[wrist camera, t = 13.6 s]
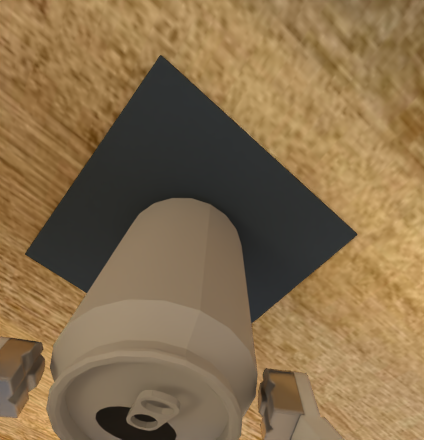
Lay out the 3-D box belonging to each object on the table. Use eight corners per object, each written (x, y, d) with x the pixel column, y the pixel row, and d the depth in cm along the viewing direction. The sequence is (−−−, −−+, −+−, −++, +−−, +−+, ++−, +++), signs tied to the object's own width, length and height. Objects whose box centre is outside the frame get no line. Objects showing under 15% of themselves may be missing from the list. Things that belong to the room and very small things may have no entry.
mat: (26, 252, 21) (24, 254, 21) (161, 55, 16) (160, 54, 16) (201, 363, 25) (201, 365, 25) (356, 233, 20) (357, 234, 20)
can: (114, 264, 21) (-3, 456, 10) (156, 171, 18) (58, 299, 7) (209, 305, 22) (197, 517, 11) (262, 224, 20) (313, 401, 9)
